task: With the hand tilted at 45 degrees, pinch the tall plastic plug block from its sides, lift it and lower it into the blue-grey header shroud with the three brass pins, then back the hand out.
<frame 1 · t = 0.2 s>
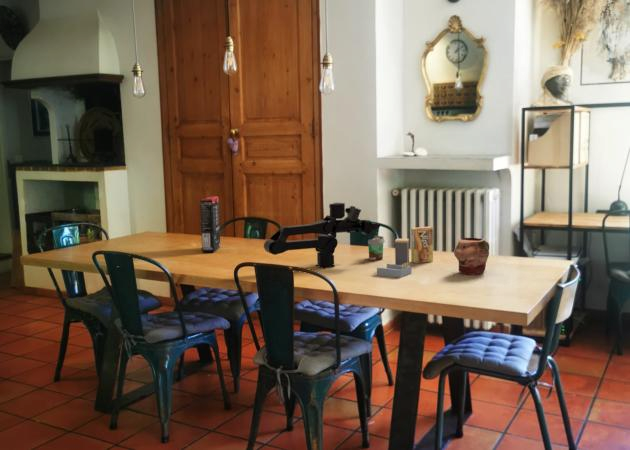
hand: (374, 223, 299), 17 cm above the table, tool horizontal, fingers open, 9 cm apart
header shroud: (393, 274, 271), on the table
plug block: (402, 268, 281), on the table
decorative planter: (473, 272, 269), on the table
candy box: (422, 262, 293), on the table
graphics card box: (212, 250, 341), on the table
food container: (378, 259, 302), on the table
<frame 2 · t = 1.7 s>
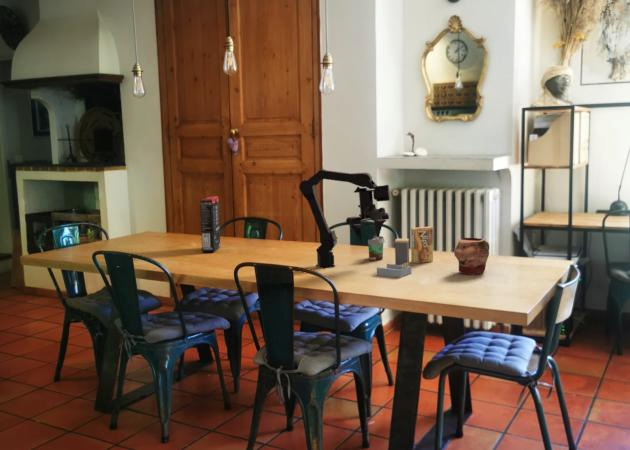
hand: (369, 238, 284), 13 cm above the table, tool pointing down, fingers open, 9 cm apart
nothing on the table moved.
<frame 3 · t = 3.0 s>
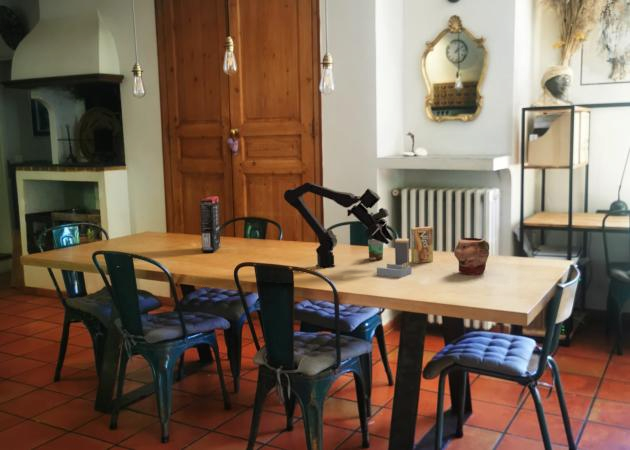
hand: (390, 241, 280), 12 cm above the table, tool tilted 45°, fingers open, 9 cm apart
nothing on the table moved.
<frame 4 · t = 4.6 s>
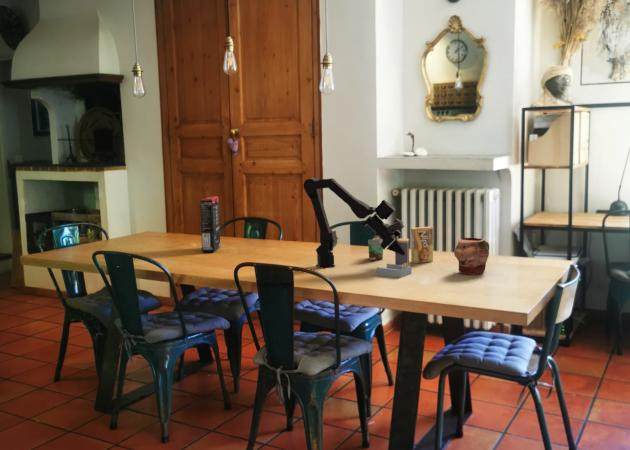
hand: (405, 253, 279), 7 cm above the table, tool tilted 45°, fingers closed on plug block, 5 cm apart
plug block: (402, 268, 281), on the table, touching gripper
everything else where it was.
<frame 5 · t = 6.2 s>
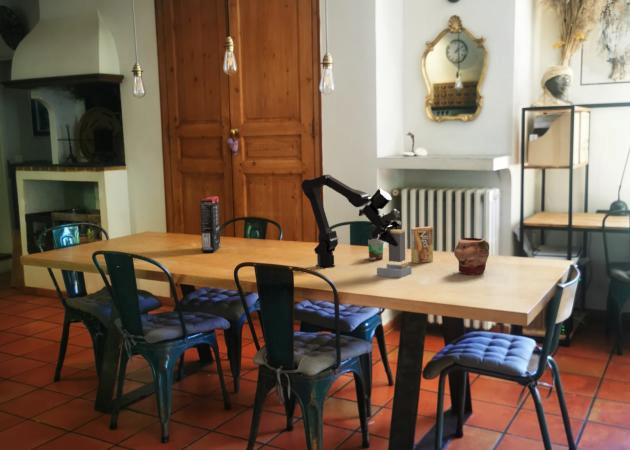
hand: (399, 244, 269), 12 cm above the table, tool tilted 45°, fingers closed on plug block, 5 cm apart
plug block: (397, 260, 271), point 5 cm above the table, touching gripper
everything else where it was.
when the fingers open (7 cm above the table, at t = 7.8 s): plug block stays where it is, resting in header shroud.
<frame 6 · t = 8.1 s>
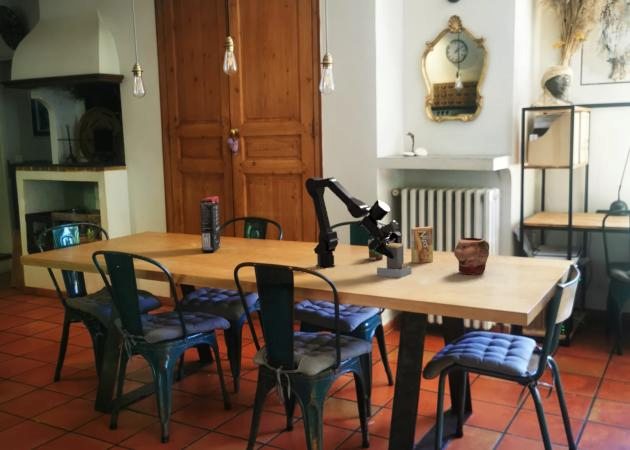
hand: (398, 256, 268), 8 cm above the table, tool tilted 45°, fingers open, 8 cm apart
plug block: (395, 274, 270), resting in header shroud
everything else where it was.
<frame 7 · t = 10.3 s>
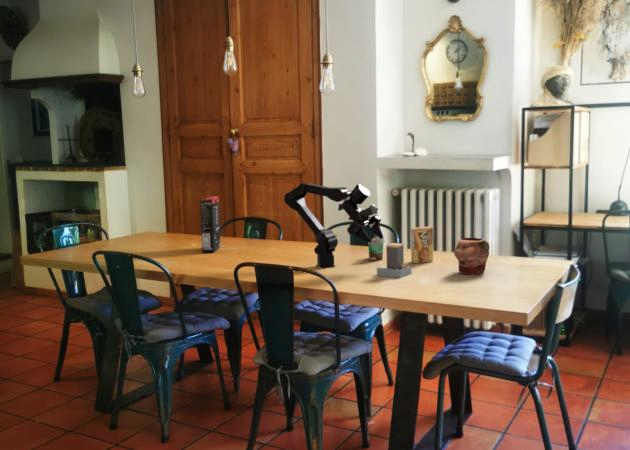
hand: (376, 239, 274), 14 cm above the table, tool tilted 45°, fingers open, 9 cm apart
nothing on the table moved.
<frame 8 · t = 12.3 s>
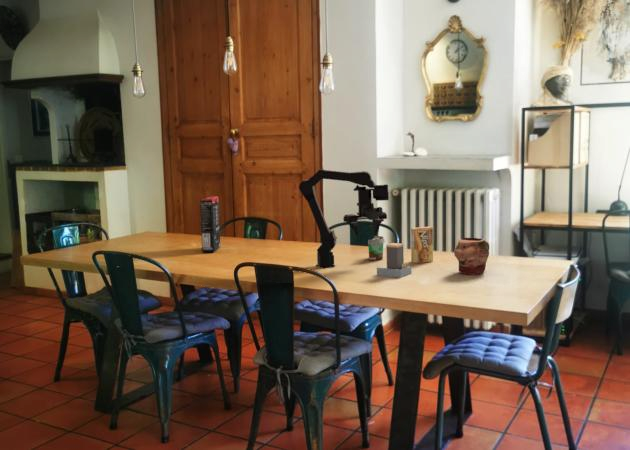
hand: (365, 236, 286), 13 cm above the table, tool pointing down, fingers open, 9 cm apart
nothing on the table moved.
at the end: plug block 1.0 cm from the header shroud (horizontally); plug block tilted 0°; the gripper is holding nothing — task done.
